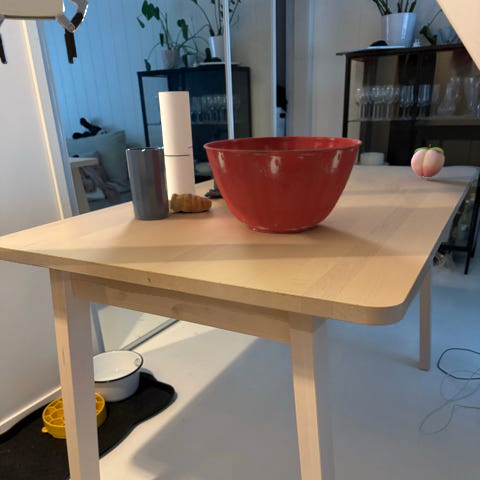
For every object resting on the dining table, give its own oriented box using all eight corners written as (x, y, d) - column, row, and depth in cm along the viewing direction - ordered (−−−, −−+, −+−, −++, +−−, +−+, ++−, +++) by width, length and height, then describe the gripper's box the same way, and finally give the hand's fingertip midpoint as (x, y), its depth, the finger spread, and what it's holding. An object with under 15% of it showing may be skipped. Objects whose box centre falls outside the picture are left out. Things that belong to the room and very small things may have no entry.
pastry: (213, 207, 109) (212, 190, 107) (210, 213, 102) (209, 195, 101) (174, 207, 109) (173, 191, 108) (168, 213, 103) (167, 196, 101)
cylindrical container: (200, 196, 122) (194, 91, 111) (186, 201, 116) (178, 91, 106) (177, 195, 125) (169, 92, 114) (163, 200, 119) (152, 92, 108)
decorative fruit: (446, 178, 138) (452, 143, 134) (436, 182, 133) (441, 145, 128) (416, 176, 144) (420, 142, 140) (405, 179, 138) (409, 144, 134)
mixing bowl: (373, 241, 77) (383, 143, 71) (204, 247, 77) (198, 149, 71) (338, 208, 103) (342, 134, 96) (211, 212, 103) (207, 138, 96)
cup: (137, 221, 96) (128, 151, 91) (132, 214, 103) (124, 148, 97) (172, 218, 99) (166, 148, 93) (166, 211, 105) (159, 146, 99)
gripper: (-65, -94, 58) (-28, 60, 66) (78, -82, 63) (97, 60, 70) (-52, -73, 65) (-20, 65, 72) (76, -63, 70) (95, 65, 77)
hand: (38, 63), depth 71 cm, fingers open, 9 cm apart
